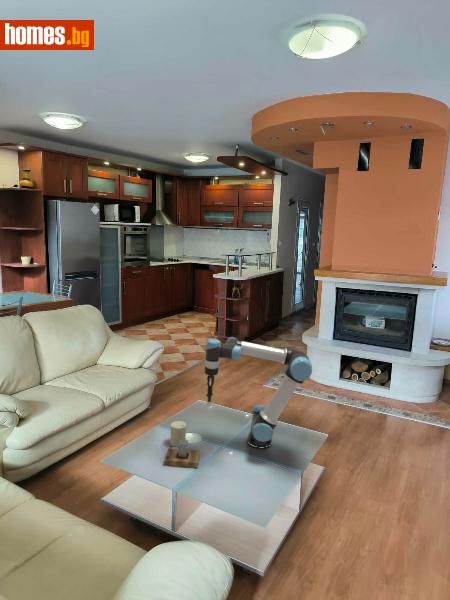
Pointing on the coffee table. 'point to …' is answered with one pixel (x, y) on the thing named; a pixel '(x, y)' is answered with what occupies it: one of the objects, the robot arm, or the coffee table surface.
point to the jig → (174, 461)
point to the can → (177, 432)
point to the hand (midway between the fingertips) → (208, 406)
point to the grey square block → (182, 449)
